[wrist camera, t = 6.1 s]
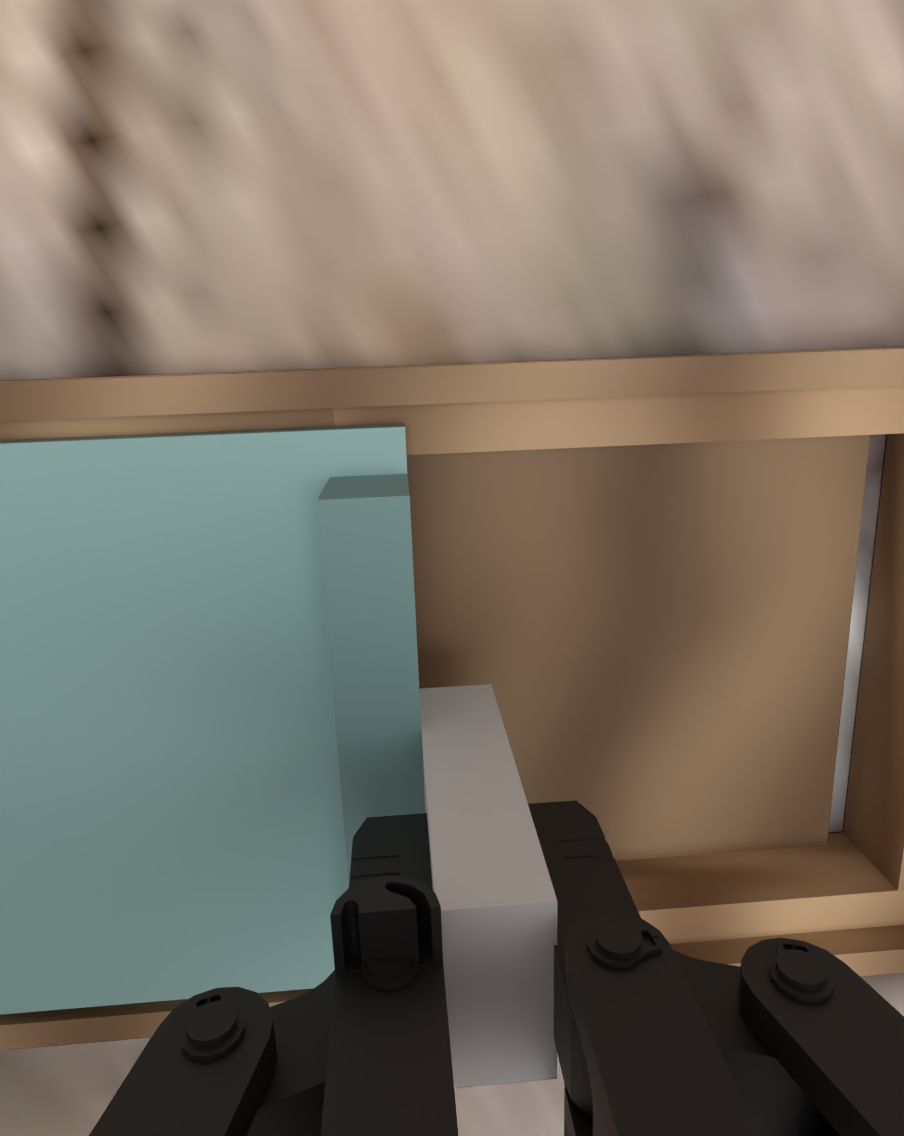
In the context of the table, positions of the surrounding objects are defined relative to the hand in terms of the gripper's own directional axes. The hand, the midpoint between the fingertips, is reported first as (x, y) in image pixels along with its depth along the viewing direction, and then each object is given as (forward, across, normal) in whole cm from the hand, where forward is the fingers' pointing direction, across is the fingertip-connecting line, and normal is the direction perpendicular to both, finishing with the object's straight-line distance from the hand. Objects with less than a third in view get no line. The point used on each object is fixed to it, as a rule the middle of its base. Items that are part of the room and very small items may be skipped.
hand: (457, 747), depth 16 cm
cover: (+2, -8, 0) cm, 8 cm away
